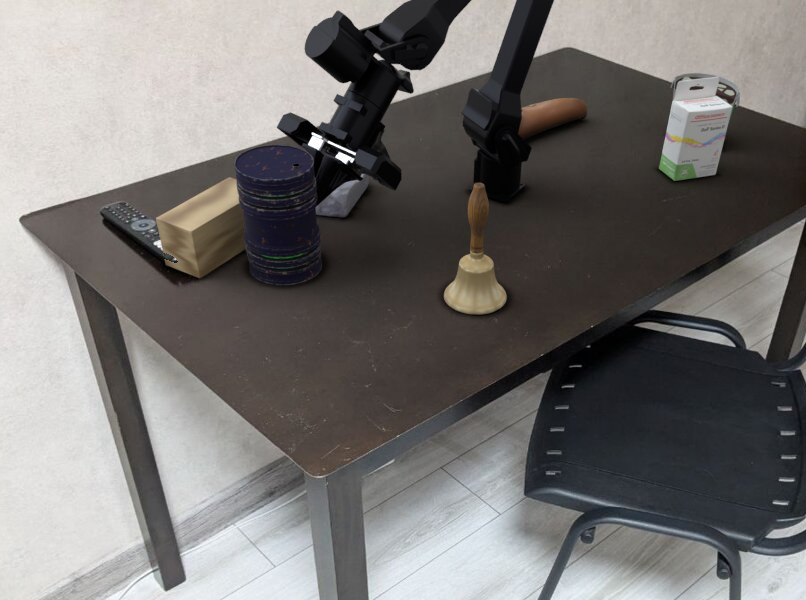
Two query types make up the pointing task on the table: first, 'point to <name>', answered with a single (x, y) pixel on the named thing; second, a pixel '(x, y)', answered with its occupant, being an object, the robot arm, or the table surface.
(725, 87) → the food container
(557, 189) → the table surface
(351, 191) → the stone block
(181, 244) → the birch block
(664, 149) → the ink box
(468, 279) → the hand bell
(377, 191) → the table surface
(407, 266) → the table surface
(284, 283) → the blue barrel
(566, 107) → the sunglasses case
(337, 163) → the robot arm
